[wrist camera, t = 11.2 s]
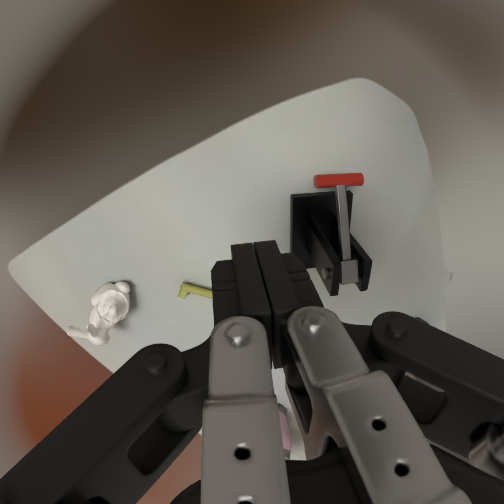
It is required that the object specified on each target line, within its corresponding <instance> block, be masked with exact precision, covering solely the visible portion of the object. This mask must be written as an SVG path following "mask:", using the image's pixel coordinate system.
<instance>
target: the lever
mask: <svg viewBox="0 0 504 504" xmlns="http://www.w3.org/2000/svg"><path fill="white" fill-rule="evenodd" d="M363 183H364V178H363V175H362V173H348V174H326V175H315V176H314V185H315V187H316V188H327V187H334V188H335V198H336V209H337V220H338V233H339V247H340V259H338V260H339V262H340V263H341V265H342V268H341V276H340V284H342V285H344V284H351V283H357V282H358V261H357V259H354V258H351V250H350V234H349V221H348V209H347V199H346V188H345V186H362V185H363Z"/></svg>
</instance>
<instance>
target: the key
mask: <svg viewBox="0 0 504 504" xmlns="http://www.w3.org/2000/svg"><path fill="white" fill-rule="evenodd" d="M188 292H189V293H193V294H196V295H200V296H204V297H208V298H212V299H213V297H212V291H211V290H207V289H203V288H200V287H196V286H193V285H189V284H185V283H182V284H181V287H180V292H179V294H178V297H180V296H181V297H182V299H185V297H186V295H187V293H188Z"/></svg>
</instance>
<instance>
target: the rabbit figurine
mask: <svg viewBox="0 0 504 504" xmlns="http://www.w3.org/2000/svg"><path fill="white" fill-rule="evenodd" d="M129 292H130V287H129V285H128V284H127V283H125V282H117V283H115V284H111V283H106V284H105V285H103V286H102V287H101V288H100V289H98V290H97V291H96V292H95V293H94V294H93V296H92V298H91V303H92V305H93V308H92V310H91V312H90V317H89V322H90V324H88V325H87V331H85V330H82V329H79V328H76V327H73V326H69V327H68V328H67V334H68V335H69V336H74V337H80V338H87V339H89V341H90V342H91V343H93V344H95V345H98V346H102V345H105V344H107V343H108V342H109V340H110V336H109V334H108V330H109V329H111V327H112V326H113V325H114V324H116V323H117V322H118V321H119V320H123V319H124V318H125V317H126V316H127V314H128V311H129V306H130V304H129V303H130V299H129V294H128V293H129Z"/></svg>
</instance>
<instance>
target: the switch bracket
mask: <svg viewBox="0 0 504 504" xmlns="http://www.w3.org/2000/svg"><path fill="white" fill-rule="evenodd" d="M346 199H347V209H348V221H349V231H350V221H351V210H352V199H353V193H352V192H351V191H350V190H349V191H346ZM349 234H350V250H351V258H354V259H357V261H358V282H357V283H356V285H357V287H358V288H359V290H360V291H366V290H367V289H368V283H369V278H370V273H371V267H372V260H371V258H370V257H369V256H368V255H367V253H366V252H365V251H364V249H363V248H362V247H361V246H360V244H359V243H358V242H357V241H356V239H355V238H354V237H353V236H352V234H351V233H350V232H349ZM290 253H293V254H294V255H296V256H297V257H298V258H300V259H301V260H302V261H303V263H304V265H305V268H306V269H308V268H315V267H316V269H317V271H318V273H319V275H320V277H321V279H322V281H323V283H324V285H325V287H326V288H327V290H328V292H329V294H330V296H336V295H338V291H339V284H340V276H341V268H342V265H341V263H340V262H339V260H338V259H340V247H339V233H338V220H337V209H336V198H335V191H333V192H319V193H305V194H293V195H291V227H290Z"/></svg>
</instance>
